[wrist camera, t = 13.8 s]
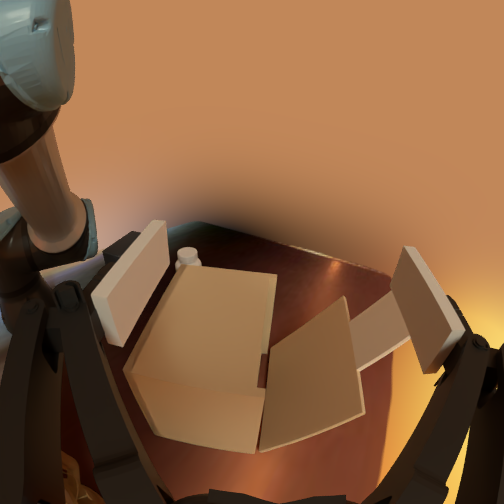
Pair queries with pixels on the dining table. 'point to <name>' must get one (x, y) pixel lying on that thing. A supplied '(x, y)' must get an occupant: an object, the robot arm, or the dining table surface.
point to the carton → (205, 358)
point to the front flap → (326, 370)
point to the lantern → (77, 484)
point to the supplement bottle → (187, 257)
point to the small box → (119, 247)
